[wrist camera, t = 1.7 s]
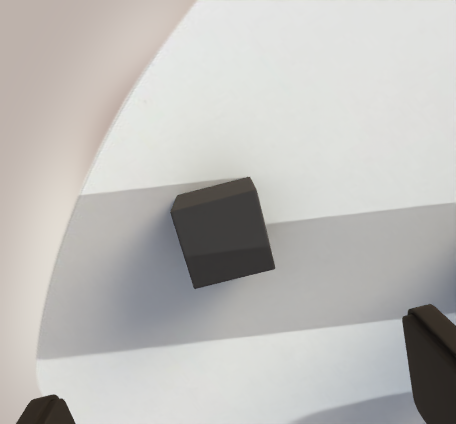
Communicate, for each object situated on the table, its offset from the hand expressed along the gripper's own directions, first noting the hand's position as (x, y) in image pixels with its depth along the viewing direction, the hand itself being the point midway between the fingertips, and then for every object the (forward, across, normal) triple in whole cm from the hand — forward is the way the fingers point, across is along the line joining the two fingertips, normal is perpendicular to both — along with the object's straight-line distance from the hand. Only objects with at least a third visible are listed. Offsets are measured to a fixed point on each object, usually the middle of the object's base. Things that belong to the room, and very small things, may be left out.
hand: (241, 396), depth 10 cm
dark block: (+16, 0, 0) cm, 16 cm away
